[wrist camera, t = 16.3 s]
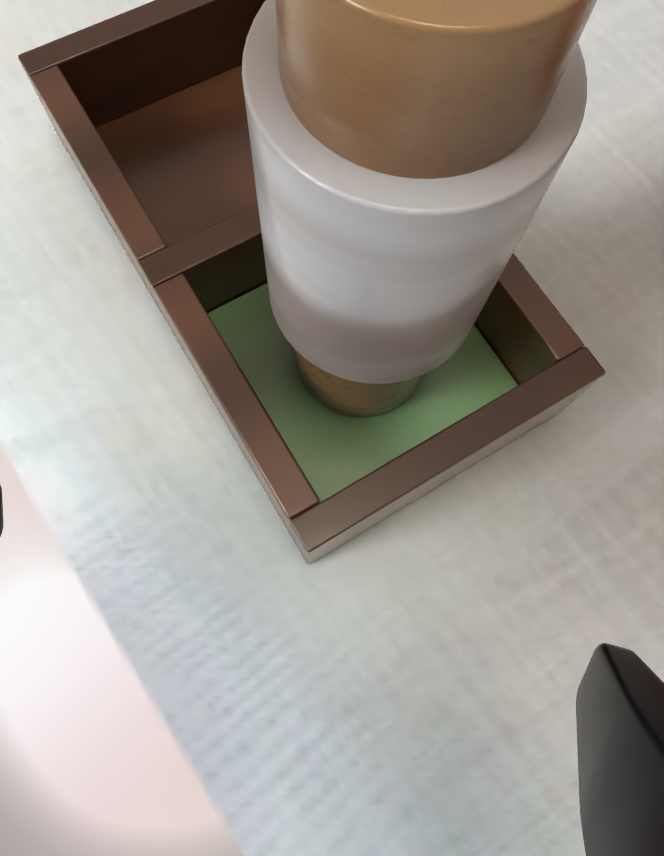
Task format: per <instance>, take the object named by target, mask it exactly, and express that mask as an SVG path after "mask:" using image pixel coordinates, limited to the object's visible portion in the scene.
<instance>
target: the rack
mask: <svg viewBox="0 0 664 856" xmlns="http://www.w3.org/2000/svg"><path fill="white" fill-rule="evenodd" d="M265 1H266V0H155V1H152V2H150V3H147V4H145V5H142V6H140V7H137V8H135V9H132V10H130V11H127V12H125V13H122V14H120V15H117V16H115V17H112V18H110V19H107V20H105V21H102V22H100V23H97V24H95V25H92V26H90V27H87V28H85V29H82V30H80V31H77V32H75V33H72V34H70V35H67V36H65V37H62V38H60V39H57V40H55V41H52V42H50V43H47V44H45V45H42V46H40V47H37V48H35V49H32V50H30V51H27V52H25V53H22V54H20V55H19V56H18V57H19V60H20V62H21V64H22V66H23V68H24V70H25V72H26V74H27V76H28V78H29V79H30V81H31V83H32V85H33V87H34V89H35V91H36V93H37V95H38V97H39V99H40V101H41V103H42V105H43V107H44V109H45V110H46V112H47V114H48V116H49V118H50V120H51V122H52V124H53V126H54V128H55V130H56V132H57V134H58V135H59V137H60V139H61V141H62V142H63V144H64V146H65V147H66V149H67V151H68V153H69V154H70V156H71V158H72V160H73V161H74V163H75V165H76V166H77V168H78V170H79V172H80V173H81V175H82V177H83V178H84V180H85V182H86V184H87V185H88V187H89V189H90V191H91V192H92V194H93V196H94V197H95V199H96V201H97V203H98V204H99V206H100V208H101V209H102V211H103V213H104V215H105V216H106V218H107V220H108V221H109V223H110V225H111V227H112V228H113V230H114V232H115V234H116V235H117V237H118V239H119V240H120V242H121V244H122V246H123V247H124V249H125V251H126V252H127V254H128V256H129V258H130V259H131V261H132V263H133V264H134V266H135V268H136V270H137V271H138V273H139V275H140V277H141V278H142V280H143V282H144V283H145V285H146V287H147V289H148V290H149V292H150V294H151V295H152V297H153V299H154V301H155V302H156V304H157V306H158V307H159V309H160V311H161V313H162V314H163V316H164V318H165V320H166V321H167V323H168V325H169V326H170V328H171V330H172V332H173V333H174V335H175V337H176V338H177V340H178V342H179V344H180V345H181V347H182V349H183V351H184V352H185V354H186V356H187V357H188V359H189V361H190V363H191V364H192V366H193V368H194V369H195V371H196V373H197V375H198V376H199V378H200V380H201V381H202V383H203V385H204V387H205V388H206V390H207V392H208V394H209V395H210V397H211V399H212V400H213V402H214V404H215V406H216V407H217V409H218V411H219V412H220V414H221V416H222V418H223V419H224V421H225V423H226V424H227V426H228V428H229V430H230V431H231V433H232V435H233V437H234V438H235V440H236V442H237V443H238V445H239V447H240V449H241V450H242V452H243V454H244V455H245V457H246V459H247V461H248V462H249V464H250V466H251V467H252V469H253V471H254V473H255V474H256V476H257V478H258V480H259V481H260V483H261V485H262V486H263V488H264V490H265V492H266V493H267V495H268V497H269V498H270V500H271V502H272V504H273V505H274V507H275V509H276V511H277V512H278V514H279V516H280V517H281V519H282V521H283V523H284V524H285V526H286V528H287V529H288V531H289V533H290V535H291V536H292V538H293V540H294V541H295V543H296V545H297V547H298V548H299V550H300V552H301V554H302V555H303V557H304V559H305V560H306V562H307V564H311V563H313V562H315V561H316V560H318V559H320V558H321V557H323V556H324V555H326V554H328V553H329V552H331V551H333V550H334V549H336V548H338V547H339V546H341V545H343V544H344V543H346V542H347V541H349V540H351V539H352V538H354V537H356V536H357V535H359V534H361V533H362V532H364V531H366V530H367V529H369V528H370V527H372V526H374V525H375V524H377V523H379V522H380V521H382V520H384V519H385V518H387V517H389V516H390V515H392V514H393V513H395V512H397V511H398V510H400V509H402V508H403V507H405V506H407V505H408V504H410V503H412V502H413V501H415V500H416V499H418V498H420V497H421V496H423V495H425V494H426V493H428V492H430V491H431V490H433V489H435V488H436V487H438V486H439V485H441V484H443V483H444V482H446V481H448V480H449V479H451V478H453V477H454V476H456V475H458V474H459V473H461V472H462V471H464V470H466V469H467V468H469V467H471V466H472V465H474V464H476V463H477V462H479V461H481V460H482V459H484V458H485V457H487V456H489V455H490V454H492V453H494V452H495V451H497V450H499V449H500V448H502V447H504V446H505V445H507V444H508V443H510V442H512V441H513V440H515V439H517V438H518V437H520V436H522V435H523V434H525V433H527V432H528V431H530V430H531V429H533V428H535V427H536V426H538V425H540V424H541V423H543V422H545V421H546V420H548V419H550V418H551V417H553V416H554V415H556V414H558V413H559V412H561V411H562V410H563V409H564V408H565V407H567V406H568V405H569V404H570V403H571V402H573V401H574V400H575V399H576V398H577V397H578V396H580V395H581V394H582V393H583V392H584V391H586V390H587V389H588V388H589V387H590V386H591V385H593V384H594V383H595V382H596V381H597V380H598V379H600V378H601V377H602V376H603V375H604V374H605V373H606V372H605V370H604V369H603V368H602V366H601V365H600V364H599V363H598V361H597V360H596V359H595V357H594V356H593V355H592V354H591V352H590V351H589V350H588V348H587V347H583V346H584V344H583V342H582V341H581V340H580V339H579V337H578V336H577V335H576V333H575V332H574V331H573V330H572V328H571V327H570V326H569V324H568V323H567V322H566V321H565V319H564V318H563V317H562V315H561V314H560V313H559V311H558V310H557V309H556V308H555V306H554V305H553V304H552V302H551V301H550V300H549V299H548V297H547V296H546V295H545V293H544V292H543V291H542V290H541V288H540V287H539V286H538V284H537V283H536V282H535V280H534V279H533V278H532V277H531V275H530V274H529V273H528V271H527V270H526V269H525V268H524V266H523V265H522V264H521V262H520V261H519V260H518V259H517V257H516V256H515V255H514V253H512V255H511V257H510V259H509V261H508V263H507V264H506V266H505V268H504V270H503V272H502V274H501V275H500V277H499V279H498V281H497V283H496V285H495V286H494V288H493V290H492V292H491V294H490V296H489V297H488V299H487V301H486V303H485V305H484V307H483V308H482V310H481V312H480V314H479V316H478V318H477V320H476V321H475V323H474V325H473V327H472V329H471V330H470V332H469V334H468V336H467V338H466V339H465V341H464V342H463V343H462V345H461V346H460V347H459V349H458V350H457V351H456V352H455V353H454V354H453V355H452V356H451V357H450V358H449V359H448V360H446V361H445V362H443V363H442V364H441V365H439V366H438V367H436V368H435V369H433V370H431V371H429V372H427V373H426V374H425V376H424V378H423V380H422V382H421V384H420V386H419V387H418V389H417V391H416V392H415V393H414V394H413V396H412V397H411V398H410V399H409V400H408V401H407V402H405V403H404V404H403V405H401V406H400V407H398V408H396V409H394V410H393V411H390V412H388V413H385V414H382V415H378V416H371V417H355V416H348V415H344V414H341V413H338V412H336V411H333V410H331V409H329V408H327V407H326V406H324V405H323V404H321V403H320V402H319V401H317V400H316V399H315V398H314V397H313V396H312V395H311V394H310V392H309V391H308V390H307V389H306V387H305V386H304V384H303V382H302V380H301V378H300V376H299V373H298V370H297V366H296V359H295V349H294V348H293V346H292V345H291V344H290V343H289V341H288V340H287V339H286V338H285V336H284V334H283V333H282V331H281V330H280V328H279V326H278V324H277V322H276V319H275V317H274V315H273V311H272V307H271V304H270V297H269V289H268V281H267V273H266V265H265V257H264V249H263V241H262V233H261V225H260V217H259V209H258V201H257V193H256V185H255V177H254V169H253V161H252V153H251V145H250V137H249V129H248V121H247V113H246V105H245V97H244V88H243V80H242V57H243V51H244V47H245V42H246V38H247V35H248V33H249V30H250V28H251V25H252V23H253V20H254V18H255V17H256V15H257V13H258V11H259V10H260V8H261V6H262V5H263V3H264V2H265Z"/></svg>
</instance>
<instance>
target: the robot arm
mask: <svg viewBox="0 0 664 856" xmlns="http://www.w3.org/2000/svg"><path fill="white" fill-rule="evenodd" d="M2 507H3V505H2V488H1V486H0V536H1V534H2V530H3V508H2ZM576 717H577V745H578V774H579V799H580V815H581V823H582V832H583V839H584V846H585V852H586V856H664V683H663V682H662V681H661V680H660V679H659V678H658V676H657V675H656V674H655V673H654V672H653V671H652V670H651V669H650V668H649V667H648V666H647V665H646V664H645V663H644V662H643V661H642V660H641V659H640V658H639V657H638V656H637V655H636V654H635V653H634V652H633V651H631V650H629V649H626V648H622V647H618V646H614V645H610V644H607V643H602V644H600V645H598V647H597V648H596V649H595V651H594V653H593V655H592V658H591V660H590V662H589V665H588V667H587V669H586V672H585V674H584V676H583V678H582V681H581V683H580V685H579V688H578V692H577V698H576Z"/></svg>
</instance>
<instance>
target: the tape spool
mask: <svg viewBox="0 0 664 856" xmlns="http://www.w3.org/2000/svg"><path fill="white" fill-rule="evenodd" d="M596 1H597V0H266V1H265V2H264V3H263V5H262V6H261V8H260V10H259V11H258V13H257V15H256V17H255V18H254V20H253V23H252V25H251V28H250V30H249V33H248V35H247V38H246V42H245V47H244V51H243V57H242V80H243V88H244V97H245V105H246V113H247V121H248V129H249V137H250V145H251V153H252V161H253V169H254V177H255V185H256V193H257V201H258V209H259V217H260V225H261V233H262V241H263V249H264V257H265V265H266V273H267V281H268V289H269V297H270V304H271V307H272V311H273V315H274V317H275V319H276V322H277V324H278V326H279V328H280V330H281V331H282V333H283V334H284V336H285V338H286V339H287V340H288V341H289V343H290V344H291V345H292V346H293V348H294V349H295V359H296V366H297V370H298V373H299V376H300V378H301V380H302V382H303V384H304V386H305V387H306V389H307V390H308V391H309V392H310V394H311V395H312V396H313V397H314V398H315V399H316V400H317V401H319V402H320V403H321V404H323V405H324V406H326V407H327V408H329V409H331V410H333V411H336V412H338V413H341V414H344V415H348V416H355V417H371V416H378V415H382V414H385V413H388V412H390V411H393V410H394V409H396V408H398V407H400V406H401V405H403V404H404V403H405V402H407V401H408V400H409V399H410V398H411V397H412V396H413V394H414V393H415V392H416V391H417V389H418V387H419V386H420V384H421V382H422V380H423V378H424V376H425V374H426V373H427V372H429V371H431V370H433V369H435V368H436V367H438V366H439V365H441V364H442V363H443V362H445V361H446V360H448V359H449V358H450V357H451V356H452V355H453V354H454V353H455V352H456V351H457V350H458V349H459V347H460V346H461V345H462V343H463V342H464V341H465V339H466V338H467V336H468V334H469V332H470V330H471V329H472V327H473V325H474V323H475V321H476V320H477V318H478V316H479V314H480V312H481V310H482V308H483V307H484V305H485V303H486V301H487V299H488V297H489V296H490V294H491V292H492V290H493V288H494V286H495V285H496V283H497V281H498V279H499V277H500V275H501V274H502V272H503V270H504V268H505V266H506V264H507V263H508V261H509V259H510V257H511V255H512V253H513V252H514V250H515V248H516V246H517V244H518V242H519V241H520V239H521V237H522V235H523V233H524V231H525V230H526V228H527V226H528V224H529V222H530V220H531V219H532V217H533V215H534V213H535V211H536V209H537V208H538V206H539V204H540V202H541V200H542V198H543V197H544V195H545V193H546V191H547V189H548V187H549V186H550V184H551V182H552V180H553V178H554V176H555V175H556V173H557V171H558V169H559V167H560V165H561V164H562V162H563V160H564V158H565V156H566V154H567V153H568V151H569V149H570V147H571V145H572V143H573V142H574V140H575V138H576V136H577V134H578V131H579V129H580V126H581V123H582V120H583V117H584V112H585V106H586V101H587V76H586V70H585V64H584V59H583V56H582V53H581V50H580V47H579V44H578V40H579V38H580V36H581V34H582V32H583V29H584V27H585V25H586V23H587V21H588V18H589V16H590V14H591V12H592V10H593V8H594V5H595V3H596Z"/></svg>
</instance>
